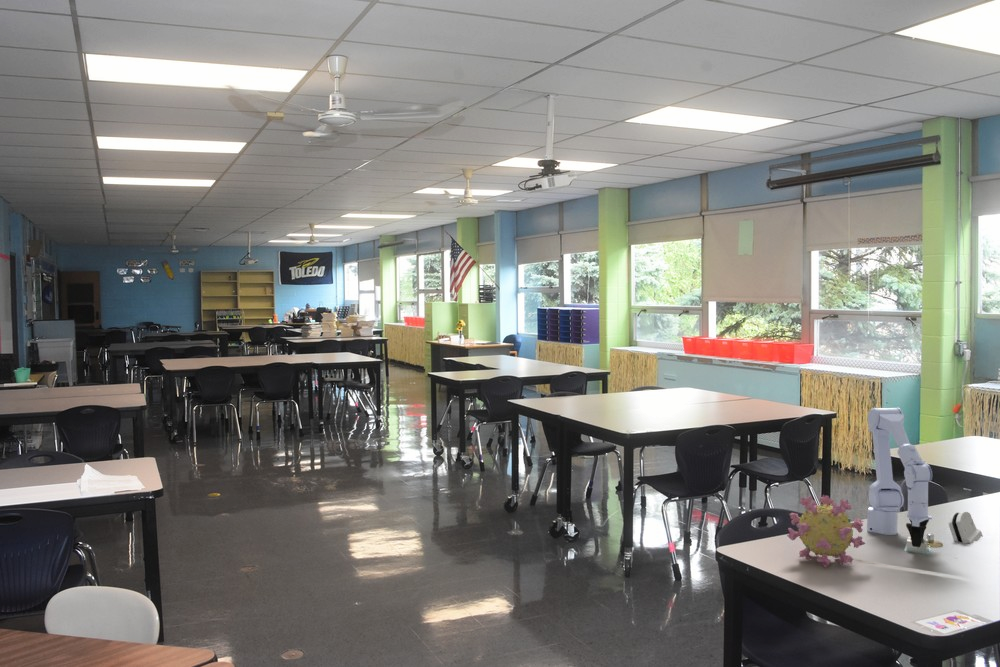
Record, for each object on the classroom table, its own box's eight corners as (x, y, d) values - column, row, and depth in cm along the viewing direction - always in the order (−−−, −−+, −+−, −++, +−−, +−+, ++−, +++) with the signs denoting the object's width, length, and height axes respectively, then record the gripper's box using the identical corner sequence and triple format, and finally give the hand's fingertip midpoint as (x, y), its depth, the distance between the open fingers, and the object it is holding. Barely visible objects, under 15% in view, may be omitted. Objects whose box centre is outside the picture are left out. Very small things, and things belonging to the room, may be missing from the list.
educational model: (791, 546, 253) (791, 487, 252) (866, 555, 243) (866, 494, 242) (783, 568, 232) (784, 503, 231) (865, 579, 222) (865, 512, 222)
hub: (917, 546, 251) (917, 535, 251) (919, 540, 256) (919, 530, 256) (941, 549, 247) (941, 538, 247) (943, 544, 253) (943, 533, 252)
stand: (903, 552, 245) (903, 540, 245) (906, 546, 251) (906, 534, 250) (928, 556, 241) (928, 543, 241) (930, 550, 247) (930, 537, 247)
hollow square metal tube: (906, 550, 245) (906, 541, 245) (908, 545, 250) (908, 536, 250) (926, 553, 242) (926, 543, 242) (927, 548, 247) (928, 539, 246)
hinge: (972, 547, 251) (960, 516, 253) (956, 549, 254) (945, 519, 256) (983, 535, 263) (972, 506, 265) (968, 537, 266) (957, 509, 268)
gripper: (930, 508, 237) (929, 551, 237) (933, 498, 249) (933, 539, 249) (904, 505, 241) (904, 547, 241) (909, 495, 253) (909, 536, 253)
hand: (917, 543), depth 246 cm, fingers open, 7 cm apart
